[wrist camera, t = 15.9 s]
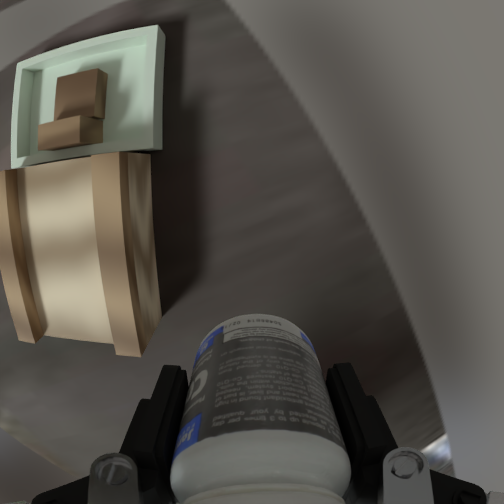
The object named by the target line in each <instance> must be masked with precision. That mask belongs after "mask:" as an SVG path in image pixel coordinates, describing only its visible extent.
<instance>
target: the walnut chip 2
mask: <svg viewBox="0 0 504 504" xmlns="http://www.w3.org/2000/svg"><path fill="white" fill-rule="evenodd" d="M98 143H103V121H101V120H97V119H93V118H89V117H85V116H81V115H79V116H74V117H69V118H65V119H61V120H56V121H52V122H48V123H44V124H40V125H38V151H55V150H60V149H66V148H72V147H78V146H85V145H91V144H98Z"/></svg>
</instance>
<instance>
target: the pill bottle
mask: <svg viewBox="0 0 504 504" xmlns="http://www.w3.org/2000/svg"><path fill="white" fill-rule="evenodd" d="M350 479H351V465H350V460H349V456H348V452H347V449H346V447H345V443H344V440H343V437H342V433H341V431H340V428H339V425H338V421H337V418H336V415H335V412H334V408H333V406H332V402H331V399H330V396H329V392H328V389H327V386H326V383H325V380H324V377H323V374H322V371H321V367H320V364H319V361H318V358H317V356H316V353H315V350H314V348H313V346H312V344H311V342H310V340H309V339H308V337H307V336H306V334H305V333H304V332H303V331H302V330H301V329H300V328H298V327H297V326H296V325H294V324H293V323H291V322H289V321H288V320H286V319H283V318H280V317H277V316H273V315H265V314H250V315H242V316H237V317H234V318H232V319H229V320H227V321H224V322H223V323H221V324H219V325H218V326H216V327H215V328H214V329H213V330H212V331H210V332H209V334H208V335H207V336H206V337H205V338H204V340H203V341H202V343H201V345H200V347H199V350H198V352H197V355H196V358H195V363H194V367H193V372H192V376H191V380H190V384H189V389H188V393H187V397H186V402H185V407H184V411H183V414H182V420H181V423H180V428H179V433H178V437H177V440H176V445H175V450H174V454H173V458H172V464H171V471H170V484H171V488H172V490H173V493H174V495H175V497H176V498H177V500H178V501H179V502H180V504H345V501H344V499H342V498H341V497H342V496H343V495H344V493H345V492H346V490H347V488H348V486H349V483H350Z"/></svg>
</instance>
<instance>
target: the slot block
mask: <svg viewBox="0 0 504 504" xmlns="http://www.w3.org/2000/svg"><path fill="white" fill-rule="evenodd" d="M0 269H1V274H2V279H3V283H4V288H5V292H6V296H7V300H8V304H9V308H10V311H11V315H12V318H13V322H14V325H15V328H16V332H17V335H18V338H19V340H20V341H25V342H30V343H36V342H37V341H38V340H39V339H40V338H41V337H42V336H43V335H46V336H53V337H60V338H68V339H76V340H84V341H93V342H102V343H113V344H114V347H115V351H116V355H125V356H136V357H141V356H142V354H143V353H144V351H145V349H146V347H147V345H148V343H149V341H150V339H151V337H152V335H153V333H154V331H155V330H156V328H157V326H158V324H159V322H160V320H161V318H162V312H161V304H160V295H159V286H158V276H157V266H156V255H155V242H154V228H153V212H152V191H151V154H141V153H129V152H113V153H104V154H96V155H91V157H85V158H78V159H71V160H64V161H58V162H52V163H46V164H40V165H35V166H30V167H24V168H19V169H12V170H4V171H0Z"/></svg>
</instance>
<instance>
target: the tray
mask: <svg viewBox="0 0 504 504" xmlns="http://www.w3.org/2000/svg"><path fill="white" fill-rule="evenodd" d="M165 39H166V36H165V34H164V33H163V31H162V30H161V28H160V27H159V25H153V26H147V27H141V28H136V29H130V30H125V31H120V32H116V33H111V34H107V35H103V36H99V37H95V38H91V39H87V40H84V41H80V42H77V43H73V44H70V45H67V46H63V47H60V48H57V49H54V50H51V51H48V52H45V53H43V54H40V55H37V56H35V57H32V58H29V59H27V60H24V61H22V62H19V63H17V70H16V77H15V86H14V95H13V108H12V126H11V169H12V168H23V167H30V166H35V165H40V164H46V163H52V162H58V161H64V160H71V159H78V158H85V157H91V155H96V154H104V153H113V152H140V151H152V150H162V110H163V76H164V55H165ZM96 68H99V69H100V70H102V71H104V72H105V73H107V74H108V79H107V91H106V107H105V119H101V121H103V143H98V144H91V145H85V146H78V147H72V148H66V149H60V150H55V151H38V125H40V124H44V123H48V122H52V121H54V106H55V94H56V84H57V77H61V76H65V75H69V74H73V73H77V72H82V71H86V70H91V69H96Z"/></svg>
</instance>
